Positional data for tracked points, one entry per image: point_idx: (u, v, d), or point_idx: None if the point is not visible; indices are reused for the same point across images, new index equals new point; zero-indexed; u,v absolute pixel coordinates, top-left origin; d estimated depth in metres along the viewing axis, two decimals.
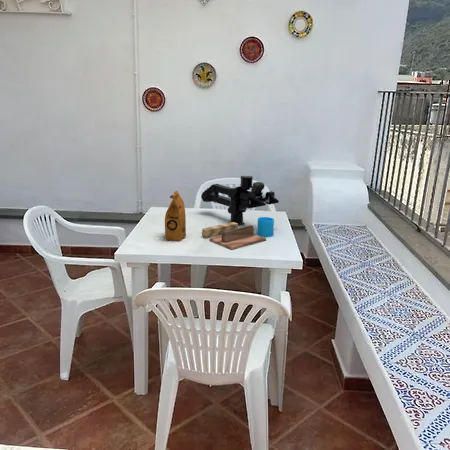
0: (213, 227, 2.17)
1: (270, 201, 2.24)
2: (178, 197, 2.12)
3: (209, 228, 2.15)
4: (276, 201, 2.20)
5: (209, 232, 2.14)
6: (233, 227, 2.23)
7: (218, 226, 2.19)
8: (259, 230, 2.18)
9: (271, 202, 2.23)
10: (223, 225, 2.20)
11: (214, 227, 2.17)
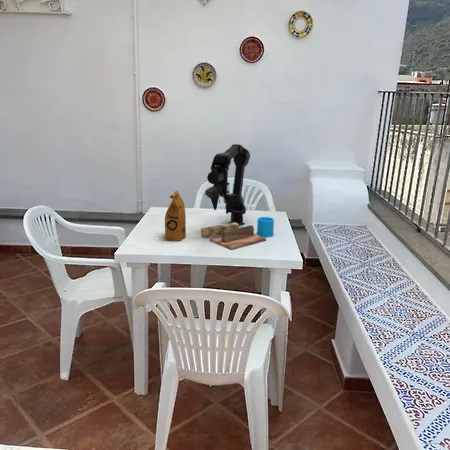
0: (213, 227, 2.17)
1: None
2: (178, 197, 2.12)
3: (208, 228, 2.16)
4: None
5: (208, 232, 2.14)
6: (234, 227, 2.22)
7: (218, 226, 2.19)
8: (259, 230, 2.18)
9: None
10: (223, 225, 2.20)
11: (214, 227, 2.17)
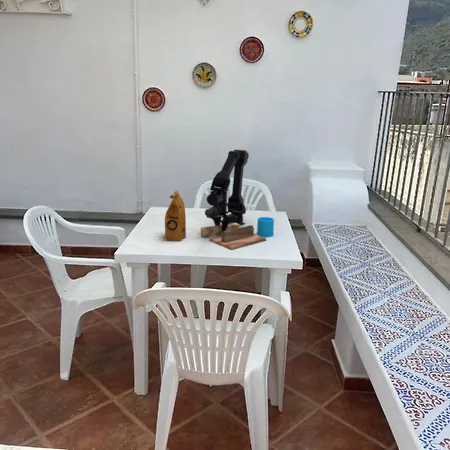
0: (212, 227, 2.18)
1: None
2: (178, 197, 2.12)
3: (208, 227, 2.16)
4: None
5: (207, 232, 2.15)
6: (234, 228, 2.22)
7: (218, 226, 2.19)
8: (259, 230, 2.18)
9: None
10: None
11: (213, 227, 2.18)
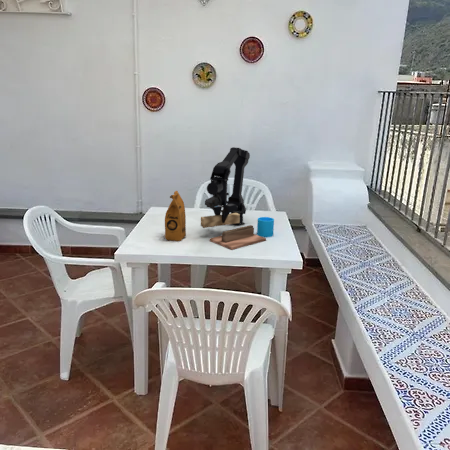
0: (212, 216, 2.16)
1: None
2: (178, 197, 2.12)
3: (208, 217, 2.15)
4: None
5: (207, 221, 2.13)
6: (234, 217, 2.20)
7: (218, 215, 2.18)
8: (259, 230, 2.18)
9: None
10: None
11: (213, 216, 2.16)
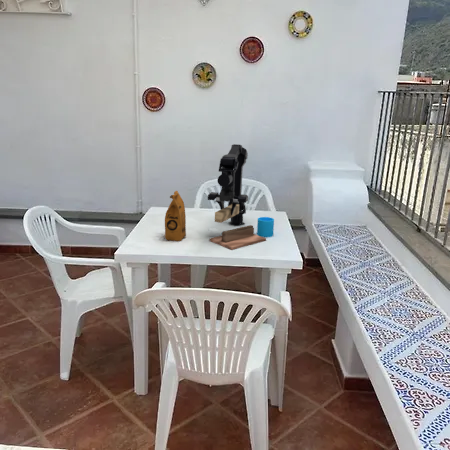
0: (223, 210, 2.09)
1: None
2: (178, 197, 2.12)
3: (221, 211, 2.07)
4: None
5: (223, 215, 2.06)
6: (236, 208, 2.19)
7: (225, 208, 2.12)
8: (259, 230, 2.18)
9: None
10: (229, 207, 2.14)
11: (224, 210, 2.09)
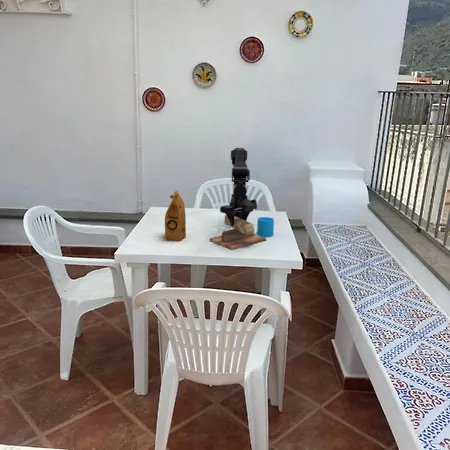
0: (243, 221, 2.05)
1: (243, 211, 2.11)
2: (178, 197, 2.12)
3: (247, 223, 2.03)
4: None
5: None
6: None
7: (238, 220, 2.07)
8: (259, 230, 2.18)
9: (242, 213, 2.11)
10: (237, 218, 2.10)
11: (243, 221, 2.05)
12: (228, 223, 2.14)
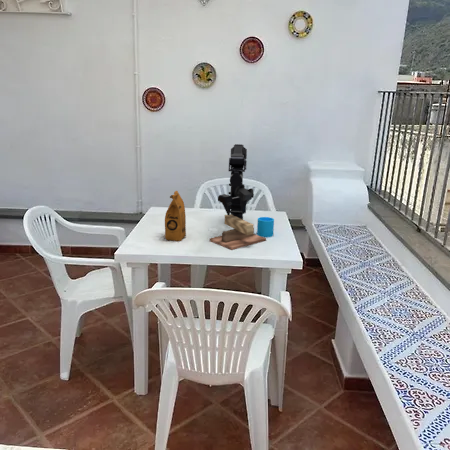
0: (243, 221, 2.05)
1: (242, 199, 2.17)
2: (178, 197, 2.12)
3: (247, 223, 2.03)
4: (242, 209, 2.18)
5: None
6: None
7: (238, 220, 2.07)
8: (259, 230, 2.18)
9: (241, 201, 2.18)
10: (237, 218, 2.10)
11: (243, 221, 2.05)
12: (228, 223, 2.14)
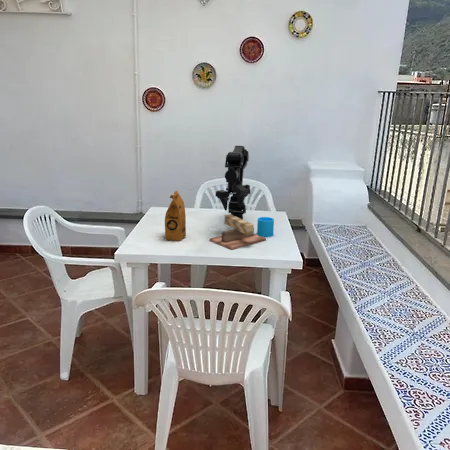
0: (243, 221, 2.05)
1: (239, 196, 2.23)
2: (178, 197, 2.12)
3: (247, 223, 2.03)
4: (239, 205, 2.24)
5: None
6: None
7: (238, 220, 2.07)
8: (259, 230, 2.18)
9: (238, 197, 2.24)
10: (237, 218, 2.10)
11: (243, 221, 2.05)
12: (228, 223, 2.14)
